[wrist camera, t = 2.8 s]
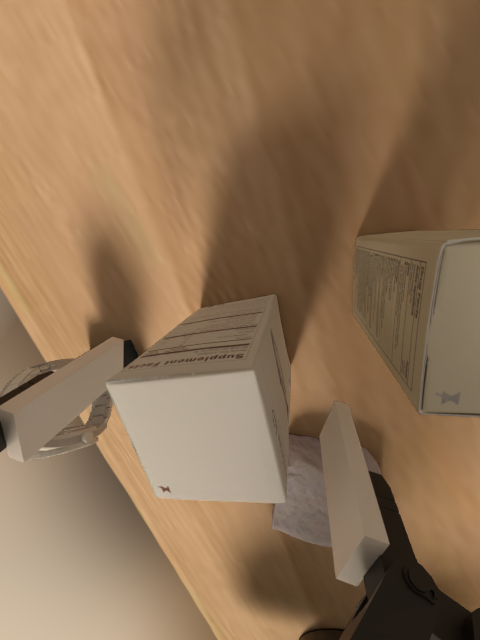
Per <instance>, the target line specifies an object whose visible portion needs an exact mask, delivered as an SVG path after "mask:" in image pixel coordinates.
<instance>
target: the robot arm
mask: <svg viewBox="0 0 480 640" xmlns="http://www.w3.org/2000/svg"><path fill="white" fill-rule="evenodd" d="M123 348H124V340H123V339H119V338H116V337H111V338H109V339H108V340H106V341H105V342H103V343H101V344H100V345H98V346H96V347H95V348H93V349H92V350H90V351H88V352H87V353H85V354H83V355H82V356H80V357H78V358H77V359H75V360H74V361H72V362H70V363H69V364H67V365H65V366H64V367H62V368H61V369H59V370H57V371H56V372H53V371H49V372H46V373H43V374H40V375H37V376H36V377H34V378H32V379H31V380H29V381H27V383H24V384H22V385H20V386H19V387H18V388H15V389H14V390H12V391H10V392H8V393H7V394H5V395H3V396H2V397H0V452H1V451H2V450H4V449H5V448H7V452H8V456H9V457H10V458H12V459H15V460H18V461H21V462H23V463H25V461H27V460H28V459H29V458H30V457H31V456H33V455H34V454H35V453H36V452H37V451H38V450H39V449H41V448H42V447H43V446H44V445H45V444H46V443H47V442H49V441H50V440H51V439H52V438H53V437H54V436H55V435H56V434H58V433H59V432H60V431H61V430H62V429H63V428H64V427H65V426H66V425H68V424H69V423H70V422H71V421H72V420H74V419H75V418H76V417H77V416H78V415H79V414H80V413H81V412H83V411H84V410H85V409H86V408H87V407H88V406H89V405H91V404H92V403H93V402H94V401H95V400H96V399H97V398H99V397H100V396H101V395H102V394H103V393H104V392H105V391H106V390H107V387H106V381H107V380H108V379H110V378H111V377H113V376H114V375H115V374H117V373H118V372H120V371H121V370H122V369H123ZM320 445H321V454H322V463H323V471H324V480H325V489H326V498H327V507H328V515H329V524H330V533H331V542H332V550H333V559H334V568H335V577H336V579H338V580H341V581H343V582H346V583H349V584H351V585H354V586H358V585H359V584H360V582H361V581H362V580H363V578H364V583H365V588H366V593H367V594H366V595H365V596H364V597H363V598H362V600H361V601H360V602H359V603H358V605H357V606H356V608H357V609H356V611H355V613H354V615H353V616H352V618H351V620H350V621H349V623H348V625H347V627H346V628H345V630H344V631H338V630H319V631H313V632H310V633H307V634H306V635H304V636H303V637H302V638H301V639H300V640H480V608H478V609H476V610H475V611H473V612H472V613H471V612H470V611H468V610H467V609H465V608H464V607H462V606H461V605H460V604H458V603H457V602H455V601H454V600H452V599H451V598H450V597H448V596H447V595H445V594H444V593H443V592H441V591H440V590H439V589H438V588H437V586H436V584H435V583H434V581H433V579H432V577H431V576H430V575H429V573H428V572H427V571H426V570H425V569H424V568H423V566H421V565H420V564H419V563H418V562H417V560H416V558H415V555H414V552H413V549H412V547H411V544H410V541H409V538H408V536H407V533H406V530H405V527H404V524H403V522H402V519H401V516H400V514H399V511H398V508H397V505H396V503H395V500H394V497H393V494H392V491H391V488H390V487H389V485H388V484H387V482H386V481H385V479H384V478H383V476H382V475H381V474H378V473H375V472H371V471H368V469H367V465H366V462H365V459H364V455H363V452H362V448H361V445H360V442H359V438H358V435H357V431H356V428H355V425H354V421H353V418H352V415H351V411H350V408H349V405H348V404H345V403H341V402H338V401H334V404H333V406H332V408H331V411H330V413H329V415H328V418H327V420H326V422H325V424H324V427H323V429H322V431H321V434H320Z"/></svg>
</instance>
